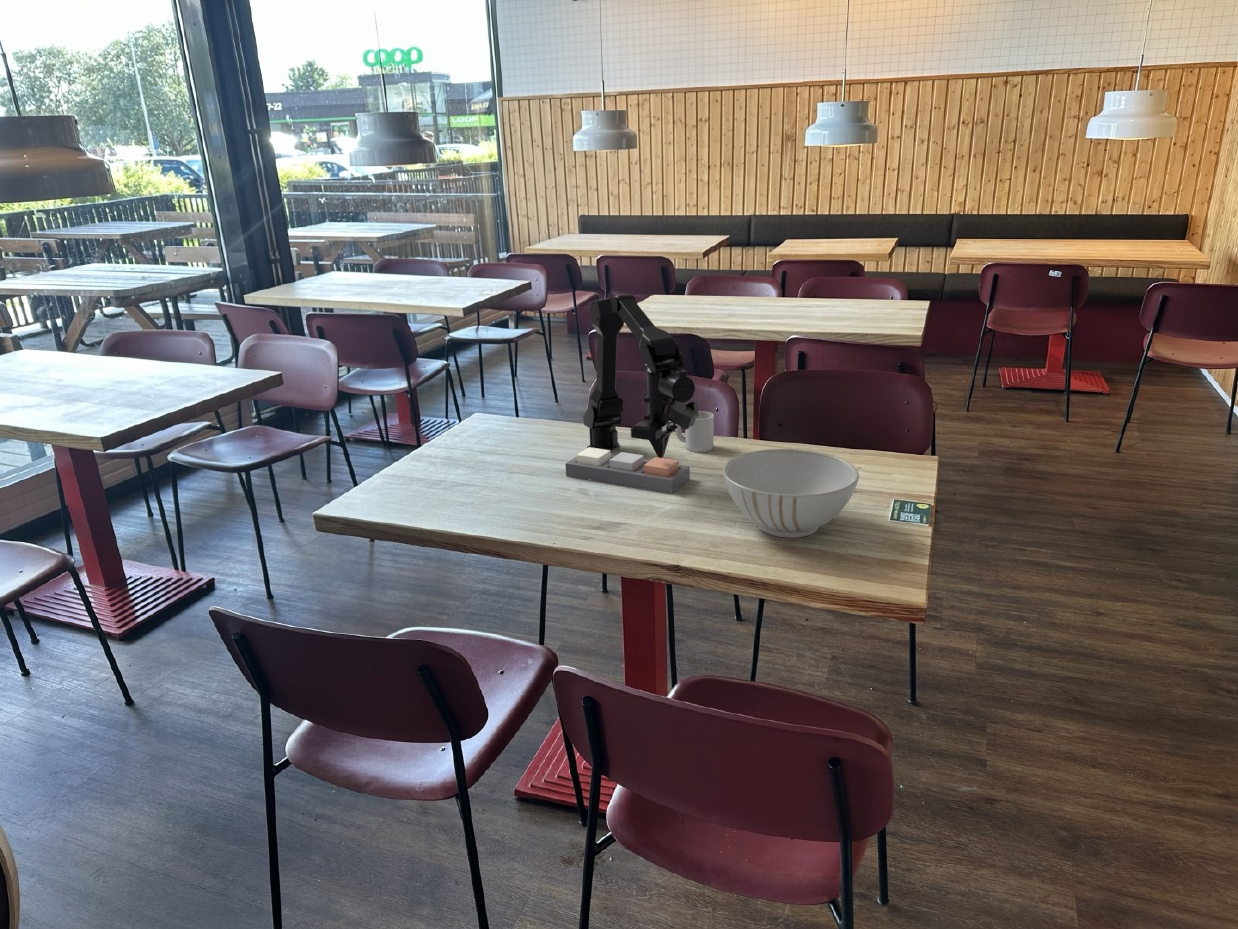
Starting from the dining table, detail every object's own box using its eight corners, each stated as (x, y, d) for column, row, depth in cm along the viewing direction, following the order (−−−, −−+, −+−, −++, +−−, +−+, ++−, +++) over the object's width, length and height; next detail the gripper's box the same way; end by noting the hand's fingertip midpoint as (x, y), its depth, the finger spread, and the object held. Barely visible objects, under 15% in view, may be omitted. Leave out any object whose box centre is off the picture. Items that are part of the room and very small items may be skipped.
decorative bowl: (755, 563, 164) (756, 503, 160) (702, 510, 188) (702, 457, 184) (881, 542, 171) (886, 484, 167) (815, 493, 195) (817, 442, 191)
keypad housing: (566, 475, 210) (565, 463, 209) (586, 462, 218) (586, 450, 217) (671, 493, 197) (671, 480, 196) (689, 478, 206) (689, 466, 205)
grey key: (609, 469, 206) (609, 459, 205) (621, 461, 211) (621, 452, 210) (632, 473, 203) (632, 463, 202) (643, 464, 208) (643, 455, 207)
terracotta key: (643, 474, 202) (643, 465, 201) (655, 466, 207) (655, 457, 206) (667, 478, 199) (667, 468, 198) (678, 470, 204) (678, 460, 203)
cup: (709, 453, 222) (709, 420, 219) (671, 450, 225) (671, 417, 222) (716, 445, 228) (716, 412, 225) (679, 441, 231) (679, 409, 228)
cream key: (576, 464, 210) (576, 454, 209) (589, 456, 215) (589, 447, 214) (598, 467, 207) (598, 458, 206) (610, 459, 212) (610, 450, 211)
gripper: (675, 407, 185) (675, 475, 190) (709, 385, 200) (708, 449, 206) (628, 401, 190) (630, 468, 195) (665, 380, 205) (666, 443, 211)
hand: (660, 457), depth 202 cm, fingers closed
